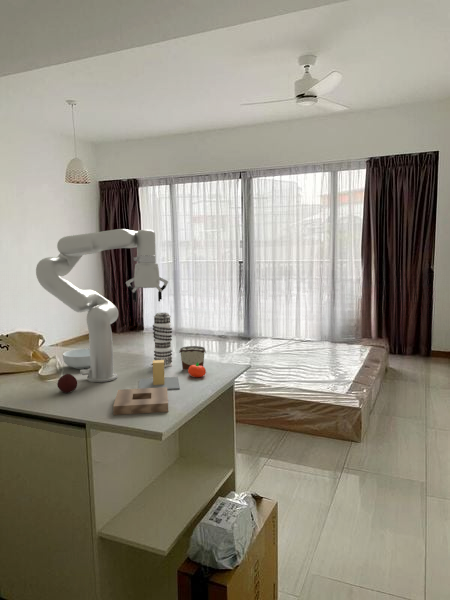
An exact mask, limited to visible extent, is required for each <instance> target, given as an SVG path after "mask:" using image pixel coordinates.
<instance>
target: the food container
mask: <svg viewBox="0 0 450 600" xmlns="http://www.w3.org/2000/svg"><path fill="white" fill-rule="evenodd" d="M178 353H179V354H180V358H181V360H180V361H181V367H182V371H188V369H189V367H190V366H191V365H196V363H198V364H199V366H203V367H204V363H205V354H207V352H206V348H205V347H203V346H201V345H200V346H199V345H198V346H197V345H190V346H189V345H188V346H182V347H180V348H179V352H178Z"/></svg>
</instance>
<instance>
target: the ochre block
mask: <svg viewBox="0 0 450 600" xmlns="http://www.w3.org/2000/svg"><path fill="white" fill-rule="evenodd" d="M164 377H165V367H164V360H154V359H152V378H153V385H162V384H165V382H164Z"/></svg>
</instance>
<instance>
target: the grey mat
mask: <svg viewBox="0 0 450 600" xmlns="http://www.w3.org/2000/svg"><path fill="white" fill-rule="evenodd" d="M164 382H165V384H162V385H153V377H145V378H144V377H143V378H139V382H138V388H137V389H142V388H161V387H167V391H174V390H176V391H177V390H180V382H179V377H178V376H166V377H165V376H164Z"/></svg>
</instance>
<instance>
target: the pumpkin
mask: <svg viewBox="0 0 450 600" xmlns="http://www.w3.org/2000/svg"><path fill="white" fill-rule="evenodd" d="M187 372H188V374H189V376H191V377H193V378H202V377H204V376H205V375H206V374H207V371H206V368H205V367H204V365H203V366H199V364H198V363H196V365H191V366H190V367H189V369H188V370H187Z"/></svg>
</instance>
